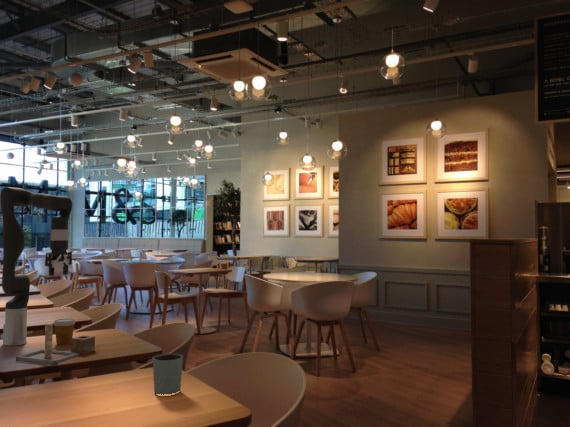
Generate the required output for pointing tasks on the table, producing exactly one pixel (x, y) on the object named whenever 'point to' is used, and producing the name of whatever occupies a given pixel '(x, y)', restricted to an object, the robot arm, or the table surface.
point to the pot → (83, 344)
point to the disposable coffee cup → (64, 331)
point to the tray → (45, 361)
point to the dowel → (48, 340)
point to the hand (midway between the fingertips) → (58, 275)
